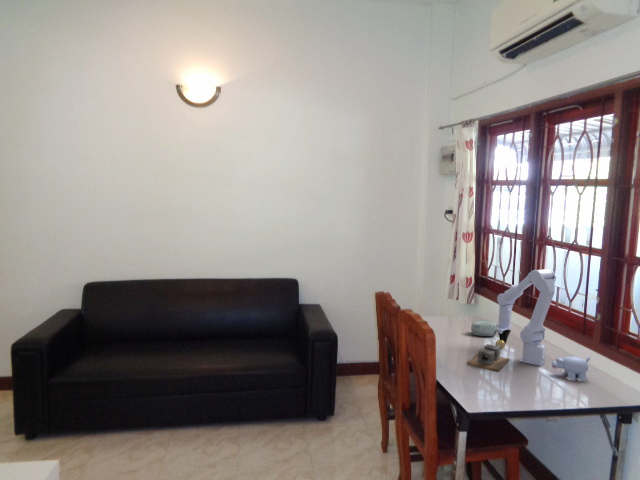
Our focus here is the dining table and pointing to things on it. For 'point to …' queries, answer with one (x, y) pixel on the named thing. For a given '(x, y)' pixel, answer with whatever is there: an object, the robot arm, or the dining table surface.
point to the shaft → (500, 344)
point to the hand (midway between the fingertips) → (503, 344)
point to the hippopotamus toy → (572, 367)
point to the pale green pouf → (484, 328)
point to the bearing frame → (489, 358)
